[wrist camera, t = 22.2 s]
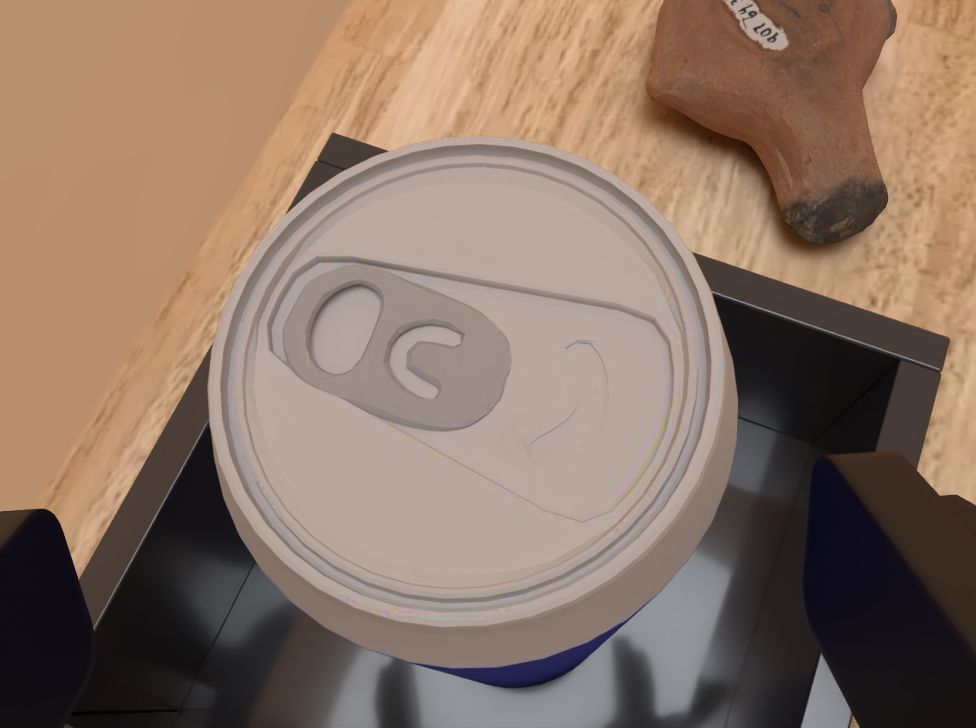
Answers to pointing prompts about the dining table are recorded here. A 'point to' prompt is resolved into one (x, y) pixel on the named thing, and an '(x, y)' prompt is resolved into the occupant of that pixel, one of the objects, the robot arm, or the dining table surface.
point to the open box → (607, 671)
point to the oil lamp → (784, 96)
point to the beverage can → (473, 406)
